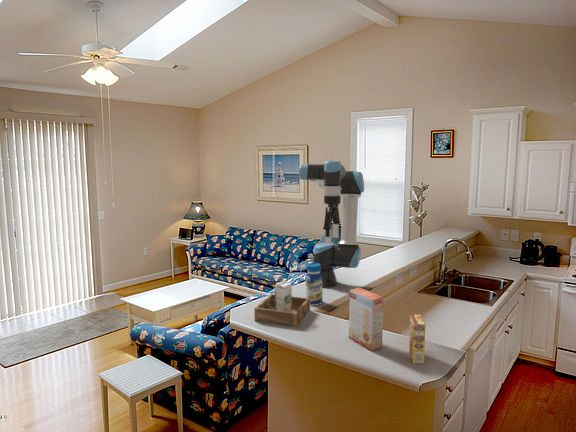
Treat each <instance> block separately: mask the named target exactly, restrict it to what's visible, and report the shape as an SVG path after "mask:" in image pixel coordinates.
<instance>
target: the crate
mask: <svg viewBox="0 0 576 432" xmlns="http://www.w3.org/2000/svg"><path fill="white" fill-rule="evenodd" d="M310 311H311V305H310V299H309V298H306V297H301V296H300V297H299V296H292V312H286V311H279V310H275V293H271V294H269V295H268V296H267V297H266V298H265V299H263V301H261V302H260V303H259V304H258V305H256V306H255V307H254V322H260V323H268V324H274V325H280V326H285V327H293V326H294V327H293V328H297V327H298V326H297V325H299V324H300V323H301V322H302V321H303V320H304V318H305V317H306V316H307V315H308V314H309V312H310ZM307 313H308V314H307Z"/></svg>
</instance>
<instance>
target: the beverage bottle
mask: <svg viewBox="0 0 576 432" xmlns="http://www.w3.org/2000/svg"><path fill="white" fill-rule="evenodd" d="M306 270H307V274H306V276H305V279H306V281H305V292H306V293H305V294H306V297H305V298H309V299H310V306H318V305H317V304H320V303H322V304H323V287H322V285H323V282H322V275H321V273H320V271H321V265H320V264H319V263H313V262H311V263H310V262H309V263H307V267H306ZM320 305H321V304H320Z"/></svg>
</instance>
